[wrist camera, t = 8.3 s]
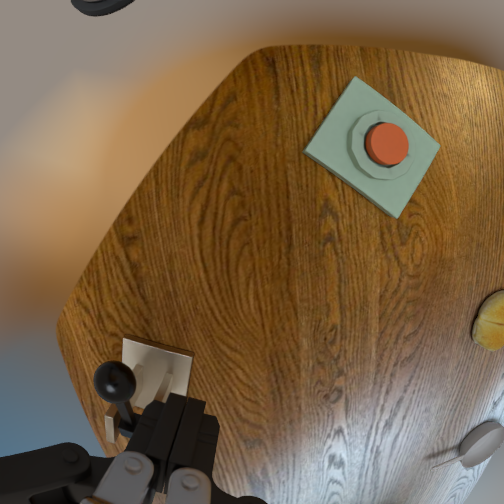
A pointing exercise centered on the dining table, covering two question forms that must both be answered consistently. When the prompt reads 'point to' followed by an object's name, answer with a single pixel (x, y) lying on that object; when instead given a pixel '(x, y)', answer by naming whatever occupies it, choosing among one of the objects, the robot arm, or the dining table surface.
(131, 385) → the lever
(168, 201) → the dining table surface
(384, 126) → the power button
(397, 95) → the dining table surface
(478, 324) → the bread roll
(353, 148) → the control block
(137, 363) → the bracket
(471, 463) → the saucepan
